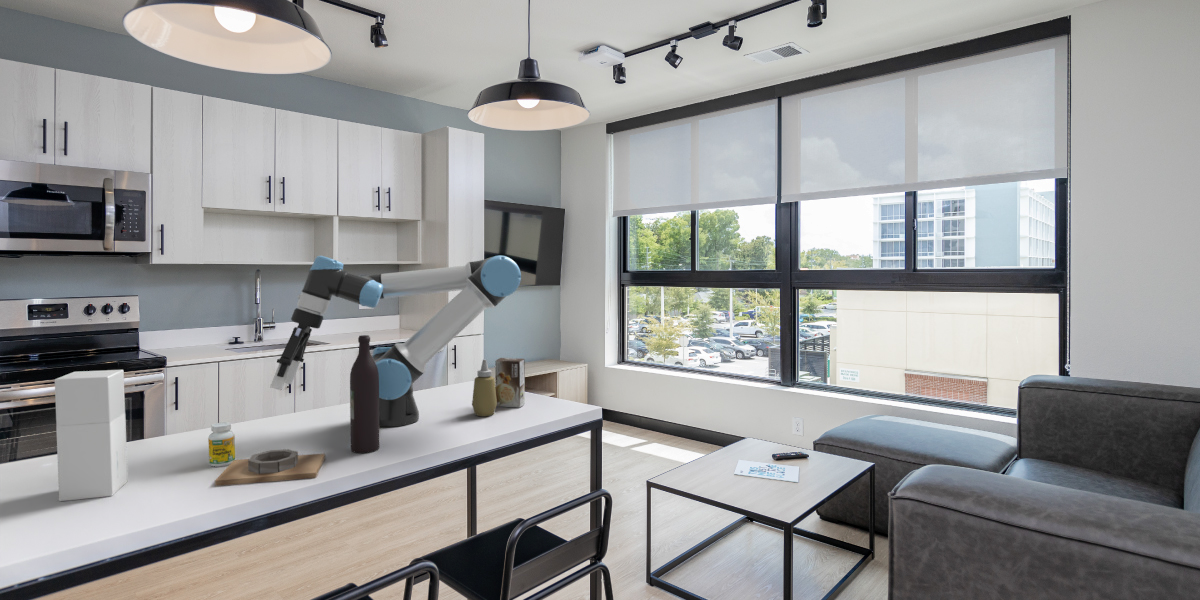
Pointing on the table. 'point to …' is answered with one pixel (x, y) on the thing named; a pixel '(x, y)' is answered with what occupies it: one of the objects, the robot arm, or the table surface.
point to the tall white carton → (91, 434)
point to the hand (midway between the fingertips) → (281, 385)
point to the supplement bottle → (221, 445)
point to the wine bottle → (364, 400)
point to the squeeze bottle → (484, 392)
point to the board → (271, 468)
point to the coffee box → (510, 382)
